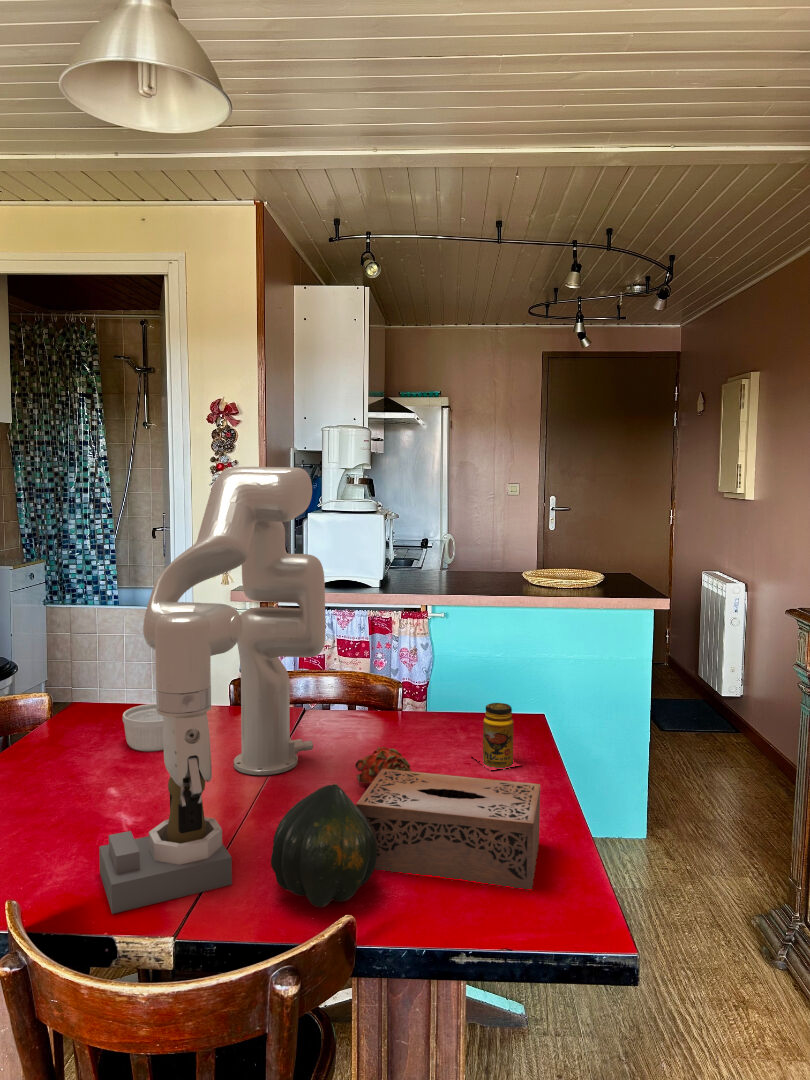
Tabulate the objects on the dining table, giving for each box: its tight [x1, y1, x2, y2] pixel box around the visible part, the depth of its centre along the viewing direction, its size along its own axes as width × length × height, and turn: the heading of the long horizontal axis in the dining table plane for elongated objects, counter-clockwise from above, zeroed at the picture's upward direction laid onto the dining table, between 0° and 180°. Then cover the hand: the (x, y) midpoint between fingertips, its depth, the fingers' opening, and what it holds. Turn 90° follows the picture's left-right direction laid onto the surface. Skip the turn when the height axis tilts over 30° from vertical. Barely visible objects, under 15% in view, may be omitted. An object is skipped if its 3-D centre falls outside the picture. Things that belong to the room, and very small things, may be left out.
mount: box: [98, 816, 233, 915], centre depth 111 cm, size 16×12×6 cm
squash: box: [270, 783, 377, 908], centre depth 109 cm, size 14×15×15 cm
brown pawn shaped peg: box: [166, 775, 207, 844], centre depth 112 cm, size 6×6×11 cm
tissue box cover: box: [355, 769, 541, 890], centre depth 119 cm, size 26×14×10 cm, turn 76°
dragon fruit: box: [354, 746, 412, 784], centre depth 144 cm, size 8×8×12 cm
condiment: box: [482, 702, 514, 768], centre depth 158 cm, size 7×8×12 cm
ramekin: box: [122, 703, 164, 752], centre depth 168 cm, size 13×13×7 cm
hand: (185, 821), depth 112 cm, fingers open, 4 cm apart
